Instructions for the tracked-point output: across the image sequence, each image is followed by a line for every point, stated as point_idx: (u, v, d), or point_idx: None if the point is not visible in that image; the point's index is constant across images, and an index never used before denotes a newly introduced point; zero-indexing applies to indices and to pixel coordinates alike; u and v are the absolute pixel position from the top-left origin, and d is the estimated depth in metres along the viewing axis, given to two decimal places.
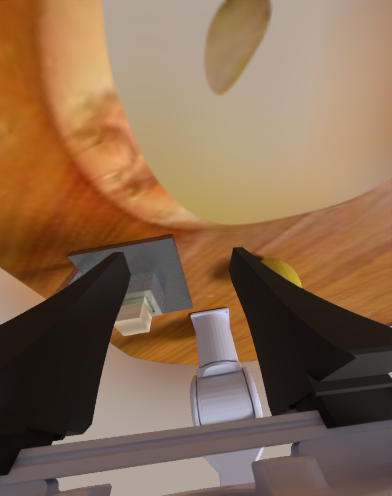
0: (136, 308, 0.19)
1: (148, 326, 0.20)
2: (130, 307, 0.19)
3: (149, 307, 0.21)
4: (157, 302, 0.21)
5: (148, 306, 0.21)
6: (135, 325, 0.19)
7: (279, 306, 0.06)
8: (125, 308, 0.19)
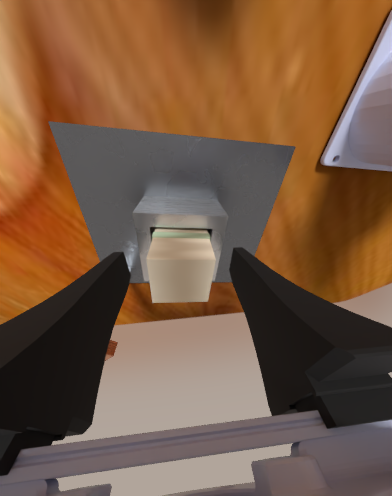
0: None
1: (204, 254, 0.08)
2: None
3: (184, 233, 0.10)
4: (185, 213, 0.09)
5: (181, 233, 0.10)
6: (177, 275, 0.08)
7: (279, 306, 0.06)
8: None
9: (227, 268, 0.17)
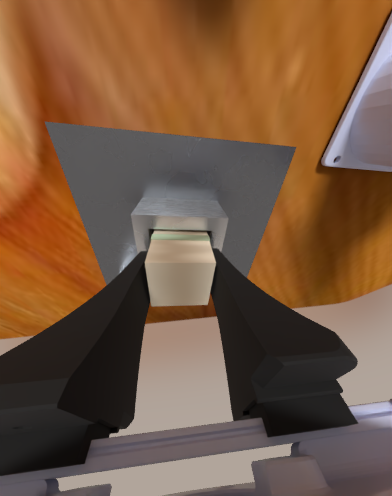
0: None
1: (204, 257, 0.08)
2: None
3: (183, 235, 0.10)
4: (184, 215, 0.09)
5: (180, 235, 0.10)
6: (177, 278, 0.08)
7: (235, 310, 0.05)
8: None
9: None
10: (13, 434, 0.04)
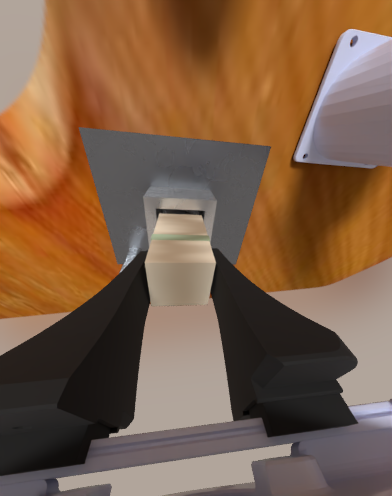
0: None
1: (204, 257, 0.08)
2: None
3: (183, 235, 0.10)
4: (183, 198, 0.12)
5: (180, 235, 0.10)
6: (177, 278, 0.08)
7: (236, 310, 0.05)
8: None
9: None
10: (13, 434, 0.04)
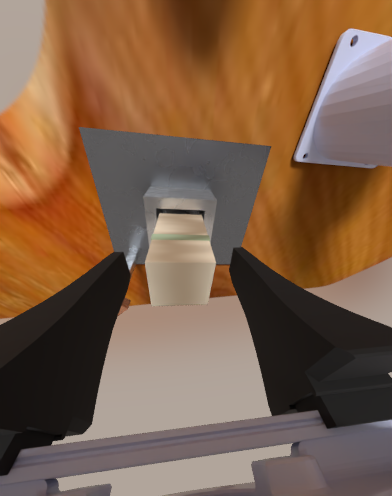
0: None
1: (204, 257, 0.08)
2: None
3: (183, 235, 0.10)
4: (183, 197, 0.12)
5: (181, 235, 0.10)
6: (177, 278, 0.08)
7: (279, 306, 0.06)
8: None
9: (220, 251, 0.20)
10: None
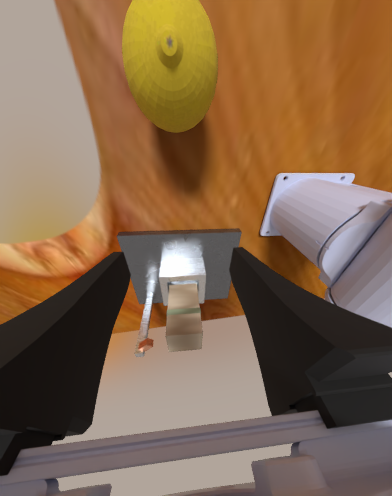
0: None
1: (196, 329, 0.15)
2: None
3: (185, 309, 0.16)
4: (184, 274, 0.19)
5: (183, 309, 0.16)
6: (182, 340, 0.15)
7: (279, 306, 0.06)
8: None
9: (214, 291, 0.26)
10: None
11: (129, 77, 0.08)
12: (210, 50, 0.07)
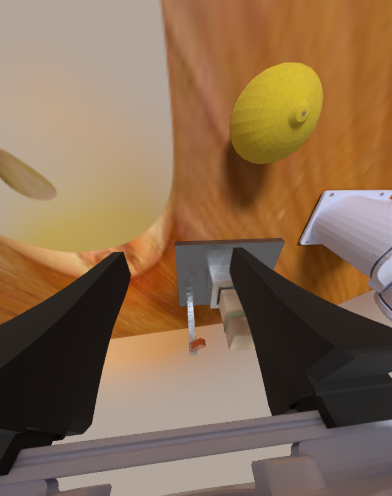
0: (229, 327, 0.17)
1: None
2: (228, 328, 0.18)
3: (243, 312, 0.18)
4: None
5: (241, 312, 0.18)
6: (246, 340, 0.17)
7: (279, 306, 0.06)
8: (227, 331, 0.19)
9: None
10: None
11: (248, 129, 0.10)
12: (320, 111, 0.09)
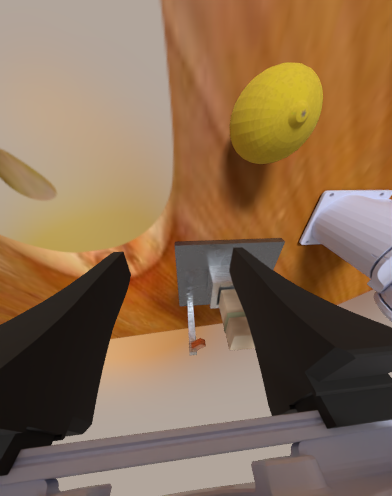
0: (229, 327, 0.17)
1: None
2: (228, 328, 0.18)
3: (243, 312, 0.18)
4: None
5: (241, 312, 0.18)
6: (246, 340, 0.17)
7: (279, 306, 0.06)
8: (227, 331, 0.19)
9: None
10: None
11: (248, 129, 0.10)
12: (319, 111, 0.09)
